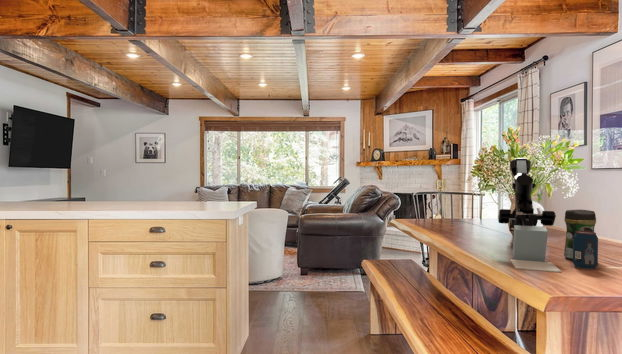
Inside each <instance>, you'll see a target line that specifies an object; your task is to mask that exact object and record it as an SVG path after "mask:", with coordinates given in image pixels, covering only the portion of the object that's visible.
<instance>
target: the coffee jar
mask: <svg viewBox="0 0 622 354" xmlns="http://www.w3.org/2000/svg"><path fill="white" fill-rule="evenodd" d="M563 220H564V223H565V225H566V234H565V243H564V250H563V251H564V253H563V256H564V258H566V259H567V260H569V261H570V260H572V261H573V236H574V234H575V233H576V231H588V232H595V226H596V224H597V217H596V212H595V211H593V210H589V209H566V211H565V213H564V219H563Z"/></svg>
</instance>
